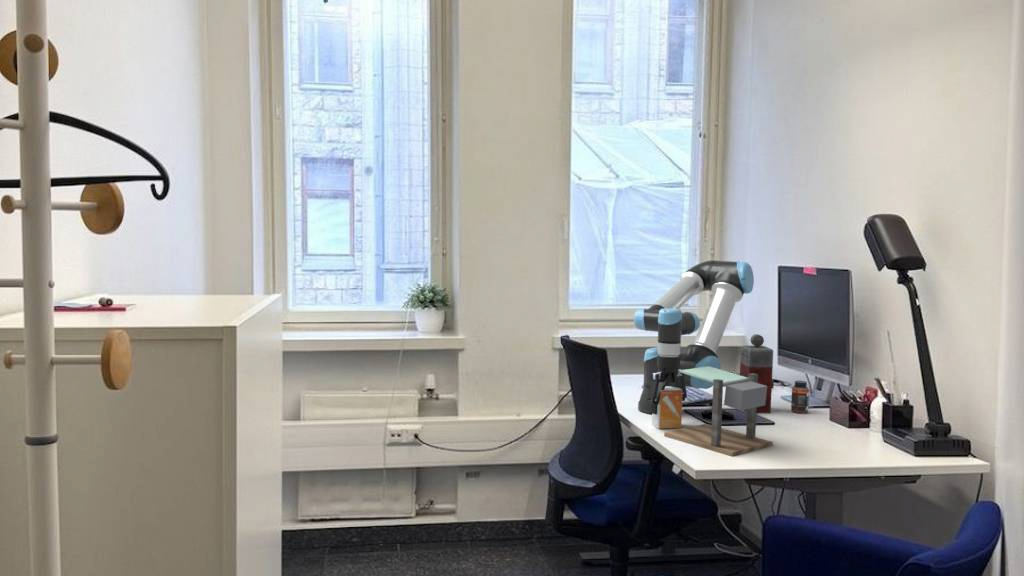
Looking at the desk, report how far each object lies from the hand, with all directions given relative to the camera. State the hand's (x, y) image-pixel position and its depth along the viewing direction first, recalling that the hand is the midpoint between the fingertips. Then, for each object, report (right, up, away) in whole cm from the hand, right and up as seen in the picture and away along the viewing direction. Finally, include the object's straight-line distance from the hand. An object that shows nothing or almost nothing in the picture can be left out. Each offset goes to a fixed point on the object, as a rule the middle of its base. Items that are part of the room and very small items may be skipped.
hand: (666, 421), depth 255 cm
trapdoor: (+13, +11, -18) cm, 25 cm away
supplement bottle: (+53, -1, +24) cm, 58 cm away
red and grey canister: (+37, 0, +27) cm, 46 cm away
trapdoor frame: (+13, -3, -17) cm, 21 cm away
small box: (0, -2, 0) cm, 2 cm away
